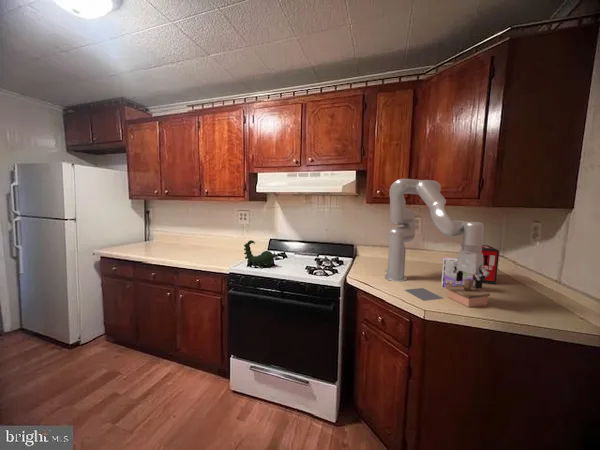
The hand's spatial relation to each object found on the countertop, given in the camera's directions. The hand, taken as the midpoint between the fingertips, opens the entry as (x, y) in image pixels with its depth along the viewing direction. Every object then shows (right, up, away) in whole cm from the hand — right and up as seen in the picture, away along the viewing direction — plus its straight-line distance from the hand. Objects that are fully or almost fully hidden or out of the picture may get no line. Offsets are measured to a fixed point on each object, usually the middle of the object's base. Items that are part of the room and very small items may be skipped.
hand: (468, 284), depth 113 cm
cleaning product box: (+33, -6, +35) cm, 48 cm away
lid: (0, -4, +1) cm, 4 cm away
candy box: (+7, -7, +19) cm, 21 cm away
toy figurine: (-107, -1, +58) cm, 122 cm away
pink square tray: (0, -9, +1) cm, 9 cm away
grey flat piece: (-17, -8, +9) cm, 20 cm away
